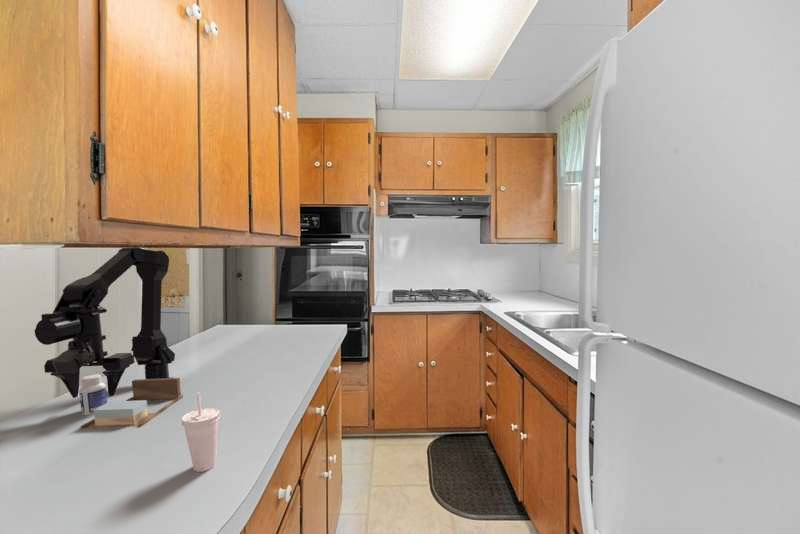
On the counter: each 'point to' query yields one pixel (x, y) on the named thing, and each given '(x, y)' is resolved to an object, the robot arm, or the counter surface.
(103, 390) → the pill bottle
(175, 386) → the rack
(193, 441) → the smoothie
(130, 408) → the offcut upper
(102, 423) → the offcut lower
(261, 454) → the counter surface
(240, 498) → the counter surface
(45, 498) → the counter surface
